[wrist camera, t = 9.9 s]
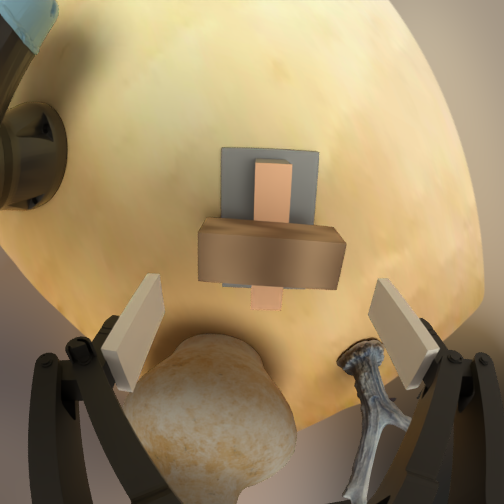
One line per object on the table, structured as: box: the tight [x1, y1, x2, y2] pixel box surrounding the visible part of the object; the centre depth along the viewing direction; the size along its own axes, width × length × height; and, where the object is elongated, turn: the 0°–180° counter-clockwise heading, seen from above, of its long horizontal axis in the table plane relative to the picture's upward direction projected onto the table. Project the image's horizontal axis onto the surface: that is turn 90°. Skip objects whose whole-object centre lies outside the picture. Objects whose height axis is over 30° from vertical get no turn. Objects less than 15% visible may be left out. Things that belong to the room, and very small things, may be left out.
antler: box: [337, 340, 412, 504], centre depth 28 cm, size 12×8×25 cm
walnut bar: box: [198, 217, 346, 290], centre depth 23 cm, size 11×4×4 cm, turn 86°
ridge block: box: [221, 148, 319, 311], centre depth 28 cm, size 10×16×7 cm, turn 178°
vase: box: [122, 334, 297, 504], centre depth 26 cm, size 22×22×30 cm
